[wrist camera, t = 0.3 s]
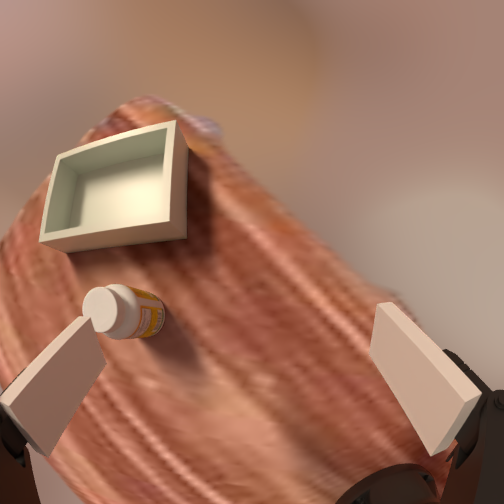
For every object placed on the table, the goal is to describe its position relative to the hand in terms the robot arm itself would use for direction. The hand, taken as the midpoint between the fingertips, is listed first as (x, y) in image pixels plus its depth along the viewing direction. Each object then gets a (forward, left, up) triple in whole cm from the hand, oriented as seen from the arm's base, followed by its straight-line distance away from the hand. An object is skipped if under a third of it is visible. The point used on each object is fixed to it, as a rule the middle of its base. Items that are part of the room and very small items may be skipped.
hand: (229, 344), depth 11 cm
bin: (+17, +16, -18) cm, 30 cm away
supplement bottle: (+2, +12, -18) cm, 22 cm away
